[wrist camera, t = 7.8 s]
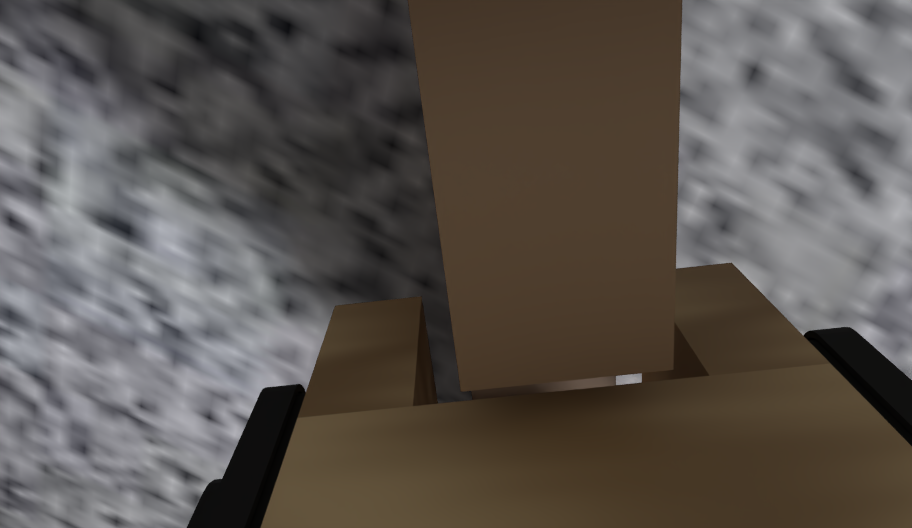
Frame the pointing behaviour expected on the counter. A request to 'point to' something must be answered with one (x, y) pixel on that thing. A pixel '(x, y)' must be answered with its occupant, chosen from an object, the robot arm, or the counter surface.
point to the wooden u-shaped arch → (595, 434)
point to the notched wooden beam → (554, 185)
